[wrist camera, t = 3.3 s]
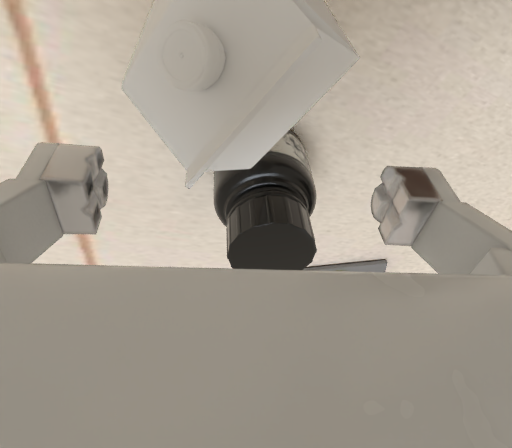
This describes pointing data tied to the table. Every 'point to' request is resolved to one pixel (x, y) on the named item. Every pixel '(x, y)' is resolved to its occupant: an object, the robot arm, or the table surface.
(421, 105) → the table surface
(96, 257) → the table surface
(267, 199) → the ink bottle
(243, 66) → the milk carton
